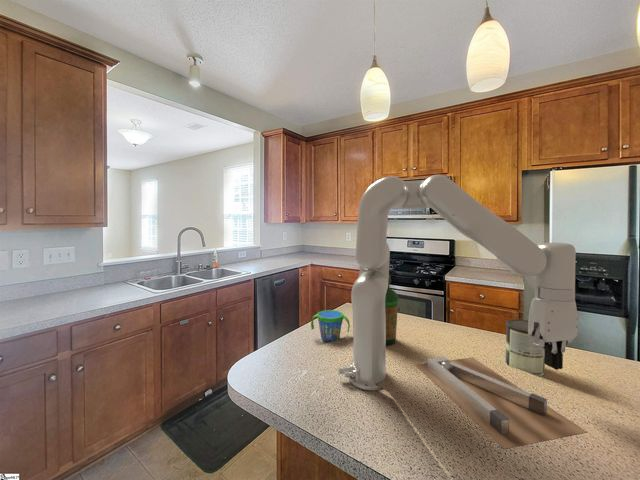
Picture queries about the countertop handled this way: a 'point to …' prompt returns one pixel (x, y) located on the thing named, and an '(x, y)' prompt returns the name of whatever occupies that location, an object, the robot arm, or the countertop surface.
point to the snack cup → (330, 324)
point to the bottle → (391, 314)
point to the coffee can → (523, 348)
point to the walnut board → (508, 411)
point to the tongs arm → (498, 387)
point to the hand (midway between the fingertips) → (553, 366)
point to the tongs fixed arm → (469, 396)
